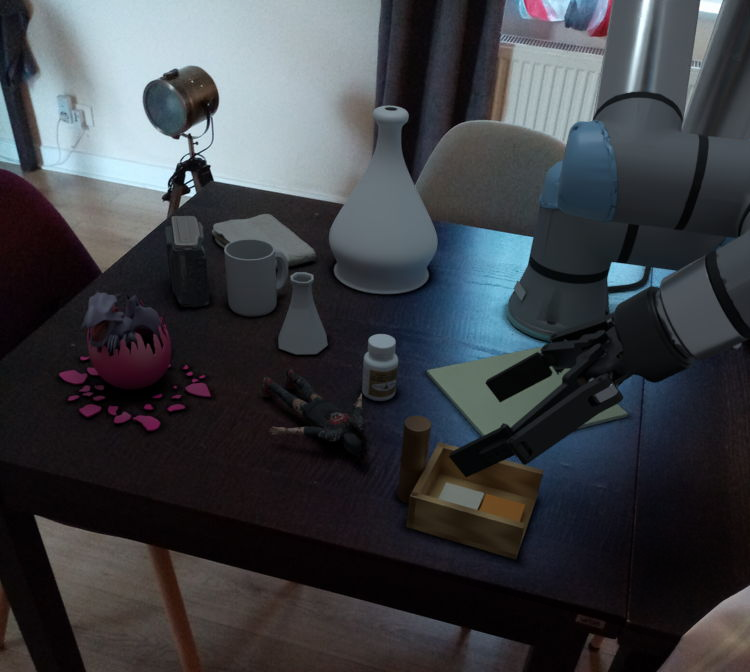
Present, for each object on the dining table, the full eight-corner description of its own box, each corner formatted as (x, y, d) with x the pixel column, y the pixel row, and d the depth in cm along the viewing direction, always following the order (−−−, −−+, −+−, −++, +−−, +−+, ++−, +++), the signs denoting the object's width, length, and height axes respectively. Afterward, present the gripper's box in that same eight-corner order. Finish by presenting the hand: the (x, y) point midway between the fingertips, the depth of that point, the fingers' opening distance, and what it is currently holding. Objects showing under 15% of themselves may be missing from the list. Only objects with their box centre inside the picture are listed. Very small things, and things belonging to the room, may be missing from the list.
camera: (211, 308, 117) (205, 244, 110) (171, 310, 116) (163, 245, 109) (207, 274, 125) (201, 212, 118) (170, 276, 124) (162, 213, 117)
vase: (315, 287, 123) (315, 117, 107) (344, 243, 136) (348, 86, 120) (423, 304, 121) (440, 133, 104) (442, 258, 134) (460, 99, 117)
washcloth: (268, 224, 141) (267, 207, 139) (319, 263, 130) (319, 245, 128) (207, 237, 135) (205, 219, 133) (255, 278, 125) (254, 260, 123)
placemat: (549, 348, 113) (549, 344, 113) (626, 417, 101) (628, 413, 101) (426, 373, 106) (426, 369, 106) (493, 450, 94) (494, 446, 94)
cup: (219, 302, 118) (214, 245, 112) (275, 286, 123) (273, 230, 117) (245, 322, 114) (241, 264, 108) (301, 304, 119) (300, 248, 113)
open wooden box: (536, 500, 88) (554, 429, 81) (516, 560, 81) (534, 486, 74) (412, 466, 91) (420, 395, 84) (382, 520, 84) (388, 446, 77)
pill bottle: (371, 405, 100) (374, 352, 95) (356, 387, 103) (358, 335, 98) (401, 397, 102) (406, 345, 96) (385, 380, 104) (389, 329, 99)
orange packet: (523, 512, 85) (525, 504, 84) (517, 531, 83) (519, 522, 82) (484, 501, 86) (486, 493, 85) (477, 519, 84) (478, 511, 83)
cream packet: (483, 500, 86) (484, 492, 85) (475, 519, 84) (476, 510, 83) (444, 490, 87) (446, 482, 86) (436, 507, 85) (437, 499, 84)
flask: (321, 360, 107) (321, 293, 101) (270, 352, 108) (267, 285, 102) (333, 334, 113) (335, 269, 106) (285, 327, 114) (283, 262, 107)
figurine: (320, 342, 101) (418, 412, 89) (321, 381, 105) (415, 453, 93) (228, 372, 95) (321, 452, 83) (233, 413, 99) (322, 495, 86)
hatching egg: (39, 373, 102) (12, 276, 93) (152, 335, 110) (138, 242, 101) (113, 448, 91) (91, 346, 82) (232, 399, 99) (224, 302, 90)
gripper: (690, 440, 57) (465, 531, 70) (706, 296, 75) (524, 391, 88) (637, 360, 55) (415, 470, 68) (666, 231, 72) (486, 338, 86)
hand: (476, 425), depth 78 cm, fingers open, 13 cm apart
